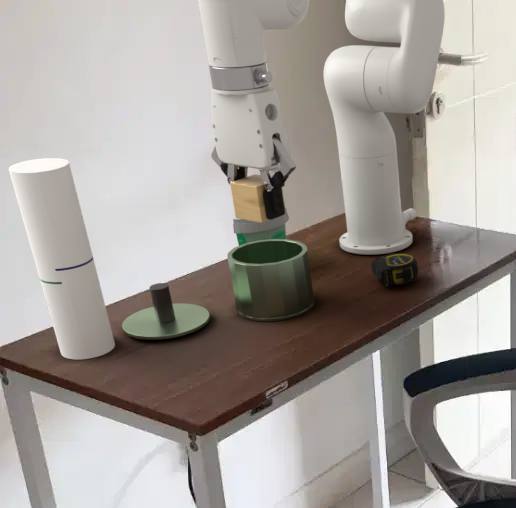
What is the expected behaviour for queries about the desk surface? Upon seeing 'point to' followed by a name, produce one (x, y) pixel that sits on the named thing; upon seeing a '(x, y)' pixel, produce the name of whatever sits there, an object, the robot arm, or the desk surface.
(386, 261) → the tape measure
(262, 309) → the tin
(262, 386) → the desk surface
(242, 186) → the block
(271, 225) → the food container
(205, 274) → the desk surface
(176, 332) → the lid
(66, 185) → the cylindrical container
